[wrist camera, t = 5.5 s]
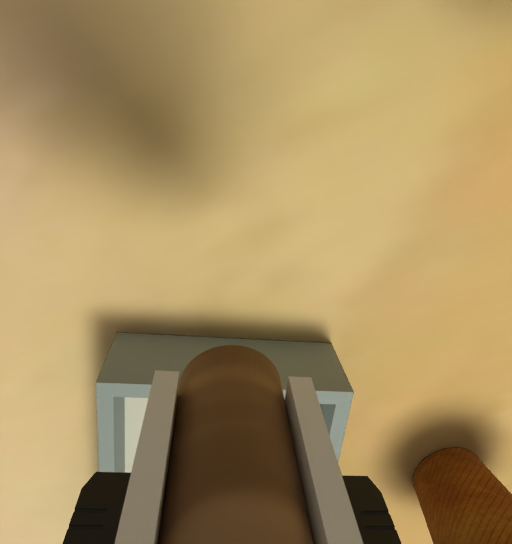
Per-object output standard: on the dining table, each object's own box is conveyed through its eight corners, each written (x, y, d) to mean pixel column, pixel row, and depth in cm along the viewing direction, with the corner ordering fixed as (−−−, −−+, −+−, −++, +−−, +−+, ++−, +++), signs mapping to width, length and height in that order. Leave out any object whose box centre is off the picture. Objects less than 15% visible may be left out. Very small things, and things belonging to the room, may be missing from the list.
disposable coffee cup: (396, 519, 42) (461, 673, 31) (393, 443, 38) (465, 586, 27) (494, 502, 42) (593, 648, 31) (500, 423, 38) (616, 558, 27)
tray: (116, 332, 32) (96, 382, 26) (331, 343, 34) (353, 392, 28) (119, 574, 41) (104, 648, 36) (287, 572, 43) (297, 643, 38)
